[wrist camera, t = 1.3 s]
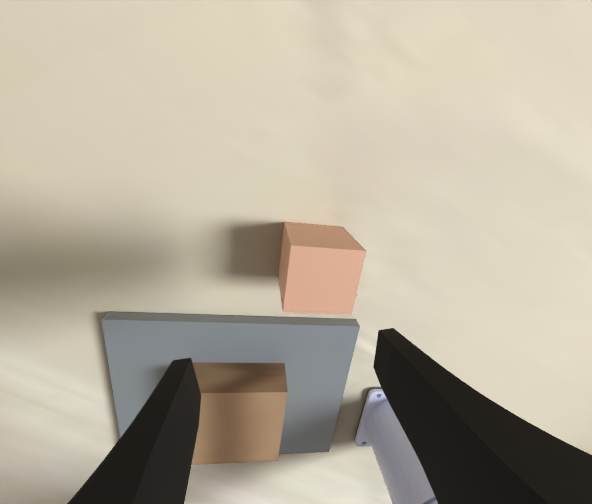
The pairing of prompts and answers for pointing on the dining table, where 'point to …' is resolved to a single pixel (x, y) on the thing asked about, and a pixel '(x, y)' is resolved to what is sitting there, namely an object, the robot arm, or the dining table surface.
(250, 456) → the walnut block
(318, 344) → the baseplate
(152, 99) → the dining table surface
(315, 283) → the terracotta brick
